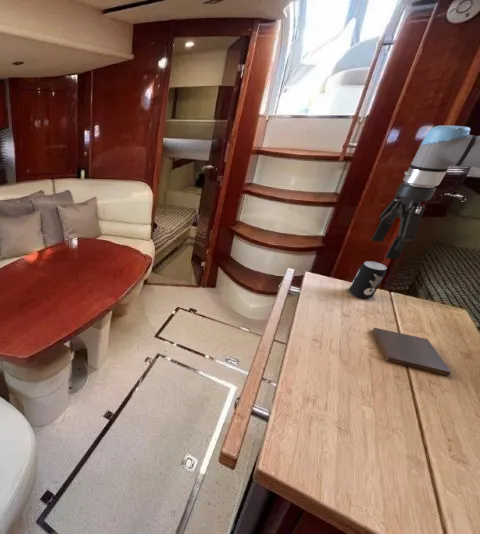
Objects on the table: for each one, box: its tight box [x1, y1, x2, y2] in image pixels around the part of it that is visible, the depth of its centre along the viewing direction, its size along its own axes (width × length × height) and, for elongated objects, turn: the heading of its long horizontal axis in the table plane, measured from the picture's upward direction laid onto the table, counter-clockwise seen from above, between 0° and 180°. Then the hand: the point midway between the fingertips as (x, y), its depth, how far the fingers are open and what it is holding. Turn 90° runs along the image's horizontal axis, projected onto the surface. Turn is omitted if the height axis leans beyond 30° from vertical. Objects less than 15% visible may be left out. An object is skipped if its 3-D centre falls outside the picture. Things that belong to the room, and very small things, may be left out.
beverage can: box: [348, 260, 388, 300], centre depth 105 cm, size 7×7×12 cm
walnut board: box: [371, 327, 452, 377], centre depth 84 cm, size 12×13×2 cm
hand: (383, 249), depth 99 cm, fingers open, 13 cm apart
